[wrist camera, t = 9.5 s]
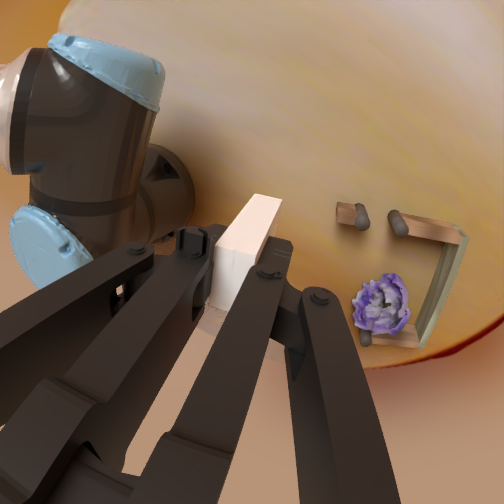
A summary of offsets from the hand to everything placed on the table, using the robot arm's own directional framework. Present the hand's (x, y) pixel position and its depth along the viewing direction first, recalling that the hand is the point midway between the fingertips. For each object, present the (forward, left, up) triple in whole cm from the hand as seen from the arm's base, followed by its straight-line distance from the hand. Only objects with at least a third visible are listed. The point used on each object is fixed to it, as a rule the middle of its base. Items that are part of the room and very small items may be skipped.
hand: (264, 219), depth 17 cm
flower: (+16, -18, -24) cm, 34 cm away
